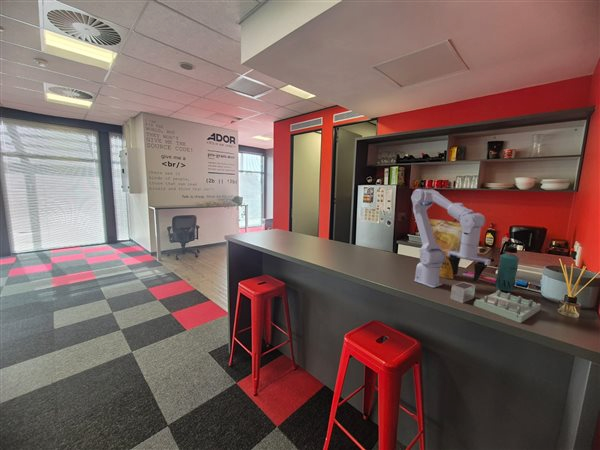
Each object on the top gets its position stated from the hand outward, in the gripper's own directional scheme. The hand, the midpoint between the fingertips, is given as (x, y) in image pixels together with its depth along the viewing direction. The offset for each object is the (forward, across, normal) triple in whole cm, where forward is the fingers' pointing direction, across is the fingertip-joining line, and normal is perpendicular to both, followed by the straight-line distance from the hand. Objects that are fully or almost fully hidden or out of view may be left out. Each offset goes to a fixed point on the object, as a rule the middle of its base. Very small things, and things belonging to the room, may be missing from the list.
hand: (465, 277), depth 99 cm
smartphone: (+9, -8, +35) cm, 37 cm away
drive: (+9, 0, 0) cm, 9 cm away
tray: (+9, +12, +6) cm, 16 cm away
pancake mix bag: (+9, -22, +19) cm, 30 cm away
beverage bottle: (+9, +5, +24) cm, 26 cm away
